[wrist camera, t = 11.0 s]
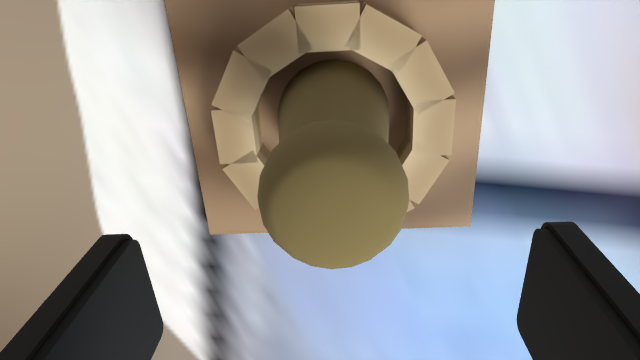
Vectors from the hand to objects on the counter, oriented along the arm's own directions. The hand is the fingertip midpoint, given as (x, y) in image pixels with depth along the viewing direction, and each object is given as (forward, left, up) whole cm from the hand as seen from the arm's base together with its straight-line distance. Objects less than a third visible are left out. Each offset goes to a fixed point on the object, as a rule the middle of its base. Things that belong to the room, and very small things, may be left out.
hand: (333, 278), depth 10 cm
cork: (0, 0, -14) cm, 14 cm away
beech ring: (+1, 0, -14) cm, 14 cm away
